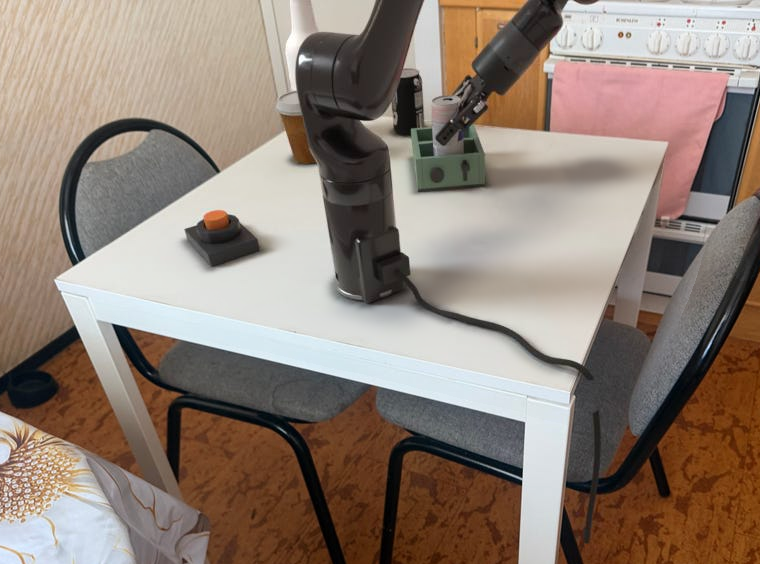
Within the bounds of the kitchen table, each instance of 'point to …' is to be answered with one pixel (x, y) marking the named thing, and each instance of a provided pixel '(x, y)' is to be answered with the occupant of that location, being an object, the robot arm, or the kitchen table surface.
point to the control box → (222, 241)
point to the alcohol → (299, 33)
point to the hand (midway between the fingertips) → (437, 135)
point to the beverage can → (408, 103)
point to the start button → (216, 219)
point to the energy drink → (440, 116)
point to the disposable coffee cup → (294, 127)
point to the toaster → (447, 162)
